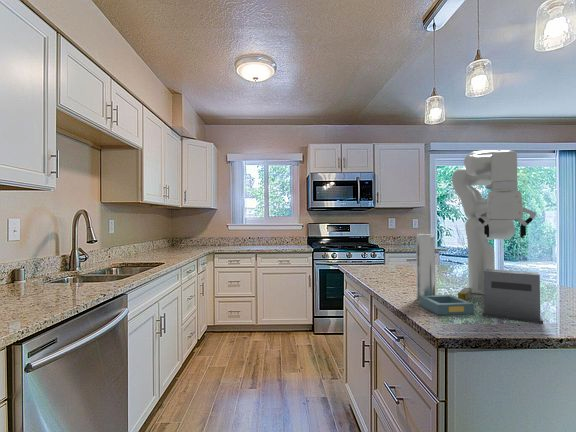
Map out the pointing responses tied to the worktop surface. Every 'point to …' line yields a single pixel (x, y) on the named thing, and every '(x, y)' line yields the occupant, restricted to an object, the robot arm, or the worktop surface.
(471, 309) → the socket block
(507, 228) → the robot arm
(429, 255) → the white tall cylinder
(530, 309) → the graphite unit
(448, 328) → the worktop surface
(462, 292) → the medication box
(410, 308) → the worktop surface
